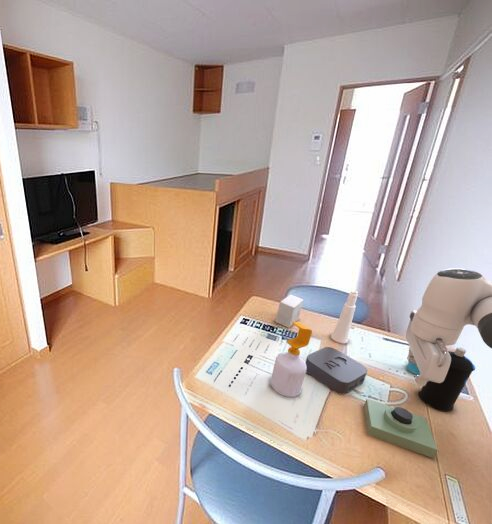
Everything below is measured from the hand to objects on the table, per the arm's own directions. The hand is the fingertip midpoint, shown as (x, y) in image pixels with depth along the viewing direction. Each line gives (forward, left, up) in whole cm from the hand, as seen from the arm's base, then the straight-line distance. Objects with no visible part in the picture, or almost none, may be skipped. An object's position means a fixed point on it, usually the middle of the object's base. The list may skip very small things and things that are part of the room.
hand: (415, 372), depth 82 cm
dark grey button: (0, +4, -13) cm, 14 cm away
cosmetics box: (+32, -41, -18) cm, 55 cm away
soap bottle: (+29, +2, -18) cm, 34 cm away
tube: (-11, -29, -18) cm, 36 cm away
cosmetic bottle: (+12, -37, -18) cm, 43 cm away
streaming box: (+15, -12, -18) cm, 26 cm away
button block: (0, +4, -18) cm, 18 cm away
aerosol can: (-13, -15, -18) cm, 27 cm away
